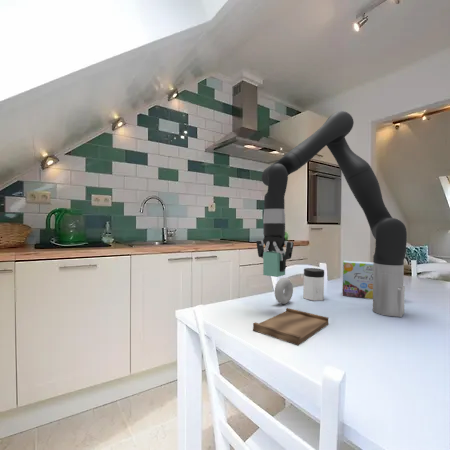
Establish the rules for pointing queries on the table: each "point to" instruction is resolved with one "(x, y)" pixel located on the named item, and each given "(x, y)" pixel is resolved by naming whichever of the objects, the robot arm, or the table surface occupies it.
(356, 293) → the snack box
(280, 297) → the donut
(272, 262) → the block
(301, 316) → the board
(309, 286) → the jar
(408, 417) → the table surface
